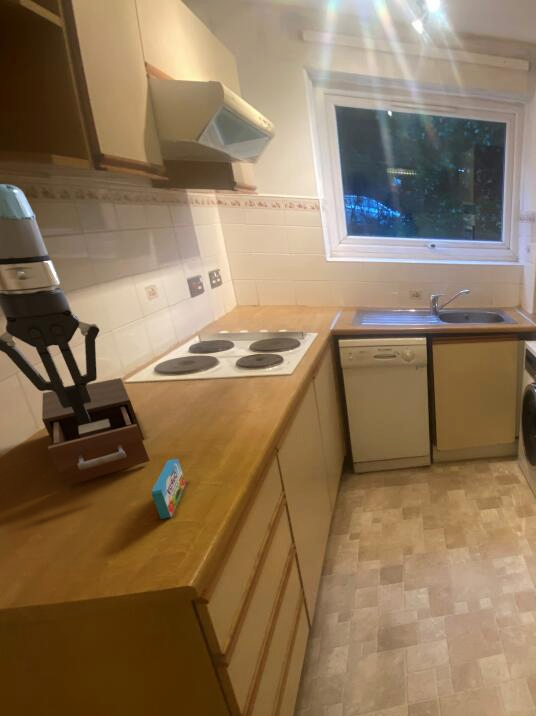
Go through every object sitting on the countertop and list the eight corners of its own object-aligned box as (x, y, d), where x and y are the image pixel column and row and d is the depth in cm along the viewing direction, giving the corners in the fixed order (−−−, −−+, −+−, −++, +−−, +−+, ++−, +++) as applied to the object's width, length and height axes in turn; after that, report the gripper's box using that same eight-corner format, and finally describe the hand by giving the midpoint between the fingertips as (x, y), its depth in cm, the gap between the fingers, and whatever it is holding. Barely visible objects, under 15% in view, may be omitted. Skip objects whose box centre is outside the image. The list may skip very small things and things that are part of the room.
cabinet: (144, 439, 107) (130, 399, 103) (61, 462, 97) (42, 419, 93) (133, 413, 120) (120, 377, 116) (59, 431, 110) (42, 393, 106)
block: (91, 462, 93) (78, 434, 91) (89, 453, 97) (77, 425, 94) (121, 454, 97) (110, 426, 94) (118, 445, 100) (108, 418, 97)
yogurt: (171, 518, 80) (161, 490, 78) (161, 520, 80) (150, 492, 77) (185, 483, 90) (177, 457, 88) (177, 484, 90) (168, 459, 87)
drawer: (153, 471, 92) (140, 435, 89) (66, 499, 83) (47, 460, 80) (138, 432, 108) (126, 399, 105) (63, 451, 99) (47, 417, 96)
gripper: (-37, 298, 62) (32, 441, 71) (85, 287, 71) (133, 416, 80) (-31, 291, 67) (33, 425, 76) (83, 282, 76) (128, 403, 85)
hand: (84, 420), depth 78 cm, fingers closed
